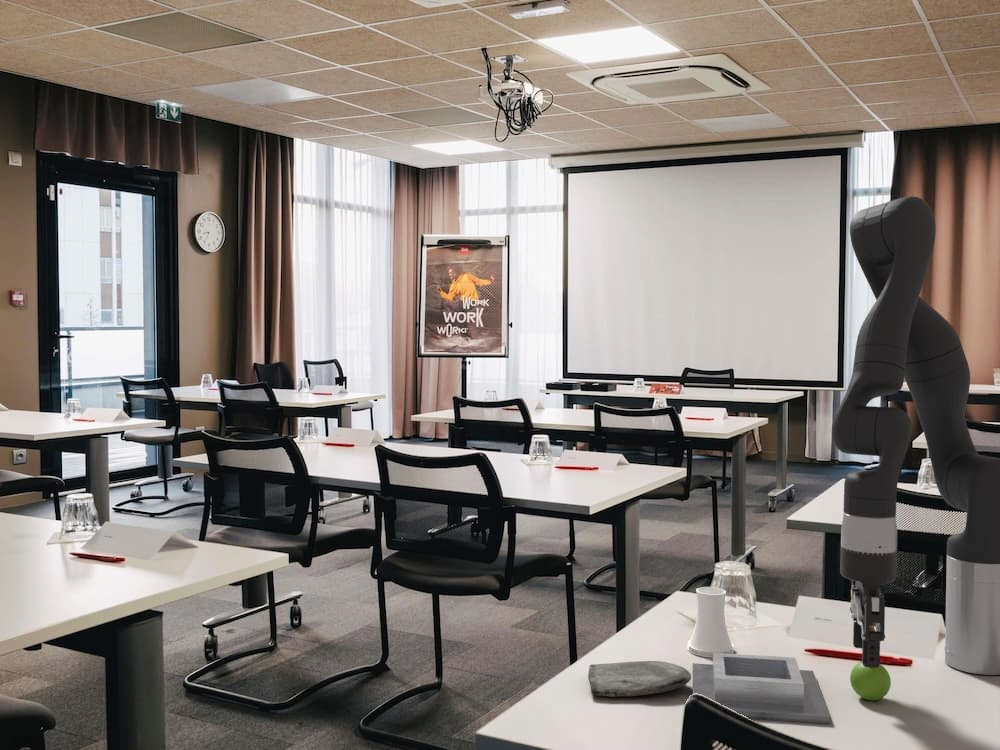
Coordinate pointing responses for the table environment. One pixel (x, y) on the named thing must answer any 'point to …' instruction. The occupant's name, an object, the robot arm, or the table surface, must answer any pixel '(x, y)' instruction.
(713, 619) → the white flared stand
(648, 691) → the stone
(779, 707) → the collar block
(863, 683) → the snail figurine
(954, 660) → the robot arm
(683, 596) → the table surface
